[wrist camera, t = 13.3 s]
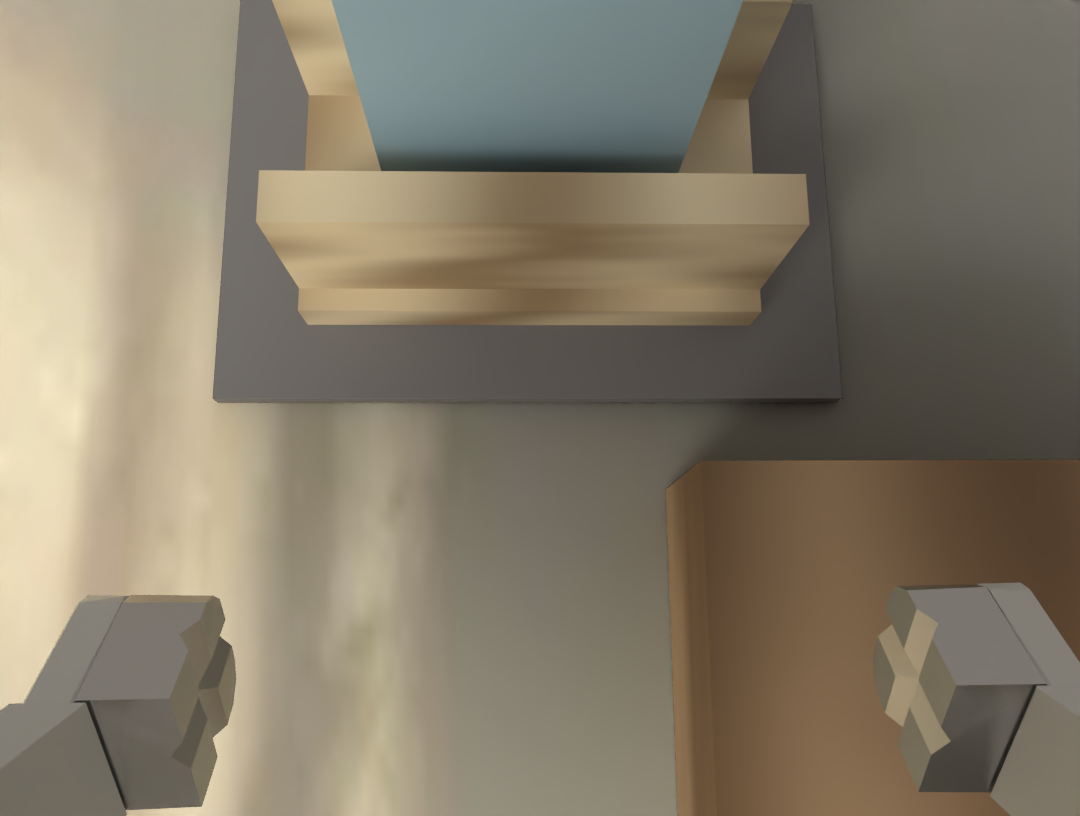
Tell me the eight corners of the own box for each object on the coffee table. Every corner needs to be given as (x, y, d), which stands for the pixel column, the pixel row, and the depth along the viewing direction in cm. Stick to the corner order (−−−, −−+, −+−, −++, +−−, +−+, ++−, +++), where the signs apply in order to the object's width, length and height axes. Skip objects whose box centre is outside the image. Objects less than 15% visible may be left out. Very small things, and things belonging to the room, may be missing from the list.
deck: (683, 988, 19) (728, 1085, 15) (665, 489, 21) (700, 460, 17) (1270, 976, 19) (1463, 1068, 15) (1192, 487, 21) (1345, 459, 17)
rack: (311, 330, 22) (254, 247, 17) (323, 70, 23) (274, -74, 18) (745, 330, 22) (811, 250, 17) (730, 74, 23) (787, -66, 18)
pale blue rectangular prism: (392, 208, 21) (286, -155, 11) (395, 126, 21) (296, -295, 11) (663, 211, 21) (797, -144, 11) (661, 130, 21) (787, -282, 12)
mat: (218, 402, 21) (212, 398, 21) (245, 8, 23) (240, -3, 23) (836, 402, 22) (842, 397, 21) (806, 15, 24) (811, 4, 23)
